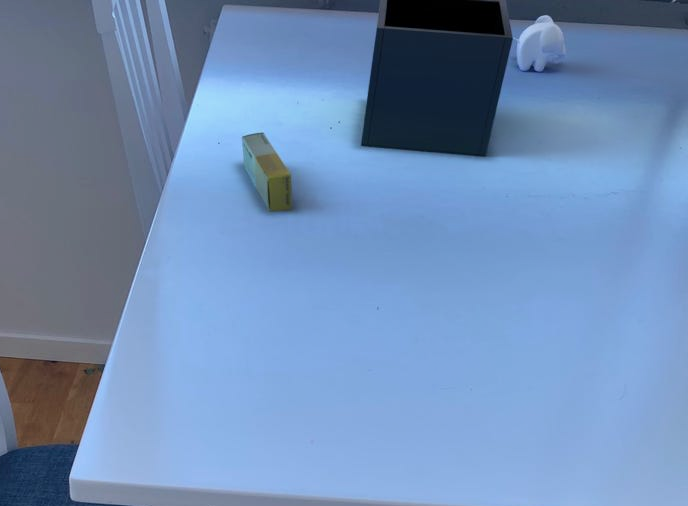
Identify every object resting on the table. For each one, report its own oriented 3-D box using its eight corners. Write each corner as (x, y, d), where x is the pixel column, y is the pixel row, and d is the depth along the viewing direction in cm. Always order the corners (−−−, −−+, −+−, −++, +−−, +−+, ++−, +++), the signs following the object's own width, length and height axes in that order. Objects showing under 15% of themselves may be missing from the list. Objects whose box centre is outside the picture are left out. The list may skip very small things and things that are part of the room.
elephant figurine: (566, 78, 131) (579, 29, 127) (508, 75, 131) (519, 26, 127) (558, 62, 135) (571, 14, 131) (502, 59, 136) (513, 11, 131)
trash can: (479, 117, 120) (505, 0, 111) (484, 162, 110) (513, 38, 101) (365, 108, 121) (381, -9, 112) (359, 151, 112) (376, 27, 102)
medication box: (242, 172, 107) (240, 134, 104) (265, 168, 107) (264, 130, 104) (268, 215, 99) (267, 176, 96) (293, 211, 99) (293, 172, 96)
